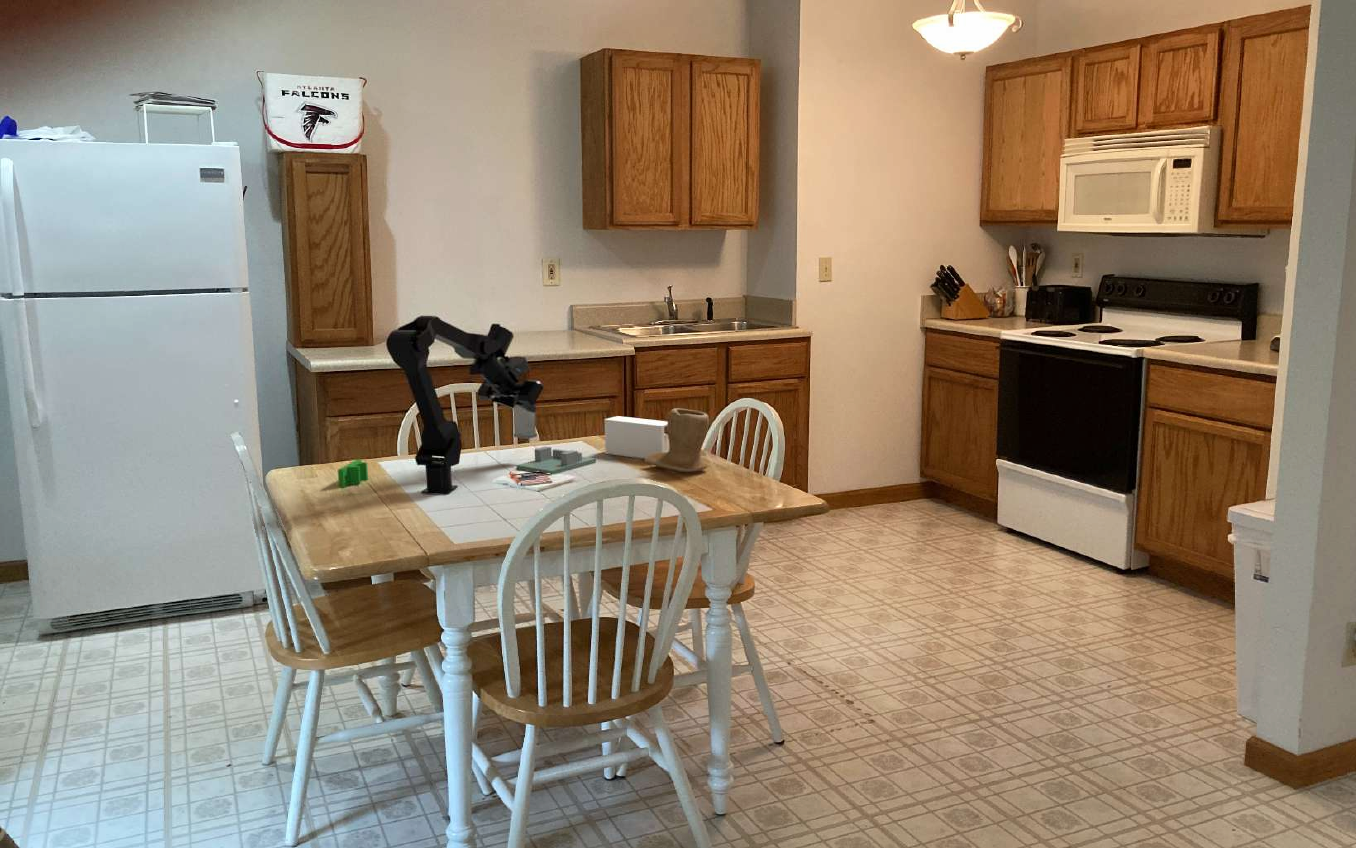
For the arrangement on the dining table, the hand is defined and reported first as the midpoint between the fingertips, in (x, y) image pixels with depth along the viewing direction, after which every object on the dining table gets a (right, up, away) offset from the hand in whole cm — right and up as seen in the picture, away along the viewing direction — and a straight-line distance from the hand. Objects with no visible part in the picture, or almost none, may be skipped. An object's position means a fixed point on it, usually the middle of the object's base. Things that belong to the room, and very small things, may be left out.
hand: (528, 410), depth 278 cm
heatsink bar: (-1, -7, 0) cm, 7 cm away
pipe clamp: (-39, -18, -16) cm, 46 cm away
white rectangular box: (+28, -12, +6) cm, 31 cm away
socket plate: (+8, -14, -3) cm, 16 cm away
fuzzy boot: (+39, -15, -10) cm, 43 cm away
